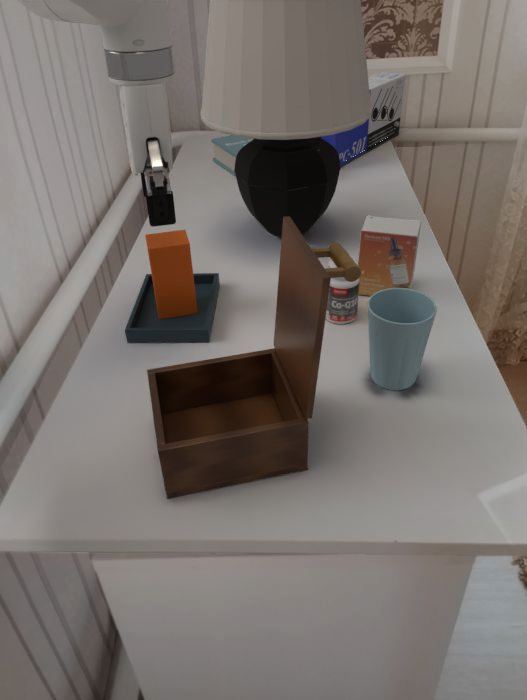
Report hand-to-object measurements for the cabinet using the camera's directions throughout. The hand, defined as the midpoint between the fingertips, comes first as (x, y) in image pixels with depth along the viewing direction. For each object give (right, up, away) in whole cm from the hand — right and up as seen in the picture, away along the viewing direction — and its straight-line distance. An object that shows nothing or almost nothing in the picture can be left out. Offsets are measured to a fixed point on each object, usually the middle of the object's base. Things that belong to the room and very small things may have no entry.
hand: (159, 209), depth 77 cm
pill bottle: (+24, -13, +8) cm, 29 cm away
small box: (+32, -9, +13) cm, 36 cm away
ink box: (+36, +29, +64) cm, 79 cm away
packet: (+1, -12, +10) cm, 15 cm away
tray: (+1, -13, +10) cm, 16 cm away
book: (+14, +22, +56) cm, 62 cm away
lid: (+16, -15, -19) cm, 29 cm away
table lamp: (+18, +3, +30) cm, 35 cm away
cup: (+29, -22, -3) cm, 37 cm away
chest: (+9, -28, -11) cm, 32 cm away
